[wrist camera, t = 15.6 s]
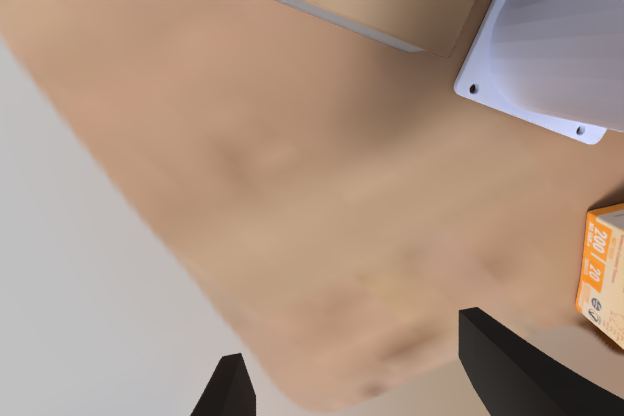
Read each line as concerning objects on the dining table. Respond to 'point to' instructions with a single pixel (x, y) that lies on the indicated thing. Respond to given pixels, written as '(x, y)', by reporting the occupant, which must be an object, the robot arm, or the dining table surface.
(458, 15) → the box lid
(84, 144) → the dining table surface
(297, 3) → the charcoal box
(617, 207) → the supplement box
